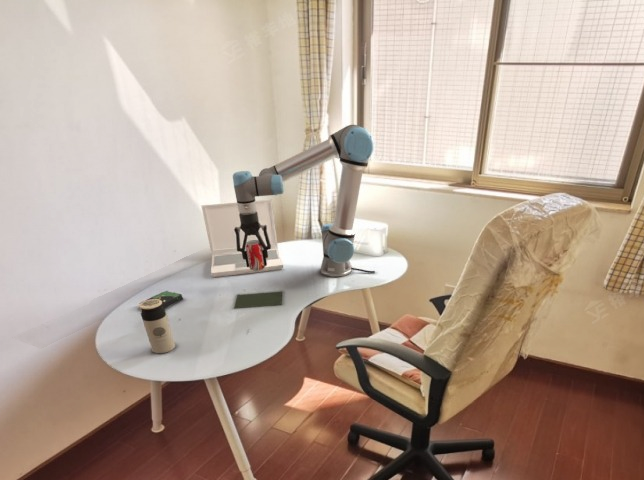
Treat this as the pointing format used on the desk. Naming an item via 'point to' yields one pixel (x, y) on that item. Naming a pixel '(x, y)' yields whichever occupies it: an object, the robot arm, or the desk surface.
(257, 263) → the soda can
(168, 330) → the travel mug
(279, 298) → the mat
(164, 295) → the disk drive
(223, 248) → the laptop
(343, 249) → the robot arm
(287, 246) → the desk surface
